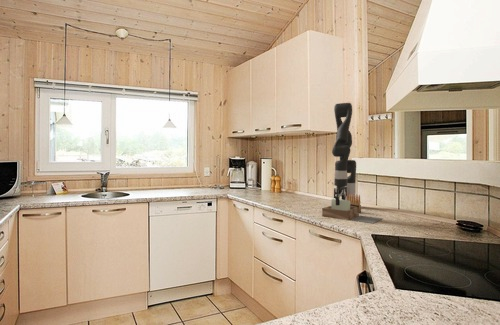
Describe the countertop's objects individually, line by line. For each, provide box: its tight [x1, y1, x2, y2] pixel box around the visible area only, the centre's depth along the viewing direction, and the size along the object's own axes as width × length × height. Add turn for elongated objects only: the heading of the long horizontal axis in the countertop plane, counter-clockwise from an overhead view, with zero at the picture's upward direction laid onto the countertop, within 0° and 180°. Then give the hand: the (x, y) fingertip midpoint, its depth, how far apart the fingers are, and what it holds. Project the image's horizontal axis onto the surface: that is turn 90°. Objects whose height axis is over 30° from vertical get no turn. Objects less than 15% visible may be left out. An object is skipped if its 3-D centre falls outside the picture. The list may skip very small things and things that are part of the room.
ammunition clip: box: [346, 193, 362, 214], centre depth 212 cm, size 11×2×12 cm, turn 37°
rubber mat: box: [350, 215, 383, 225], centre depth 188 cm, size 16×13×1 cm
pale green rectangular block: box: [330, 198, 350, 211], centre depth 199 cm, size 2×11×10 cm, turn 51°
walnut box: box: [321, 205, 360, 221], centre depth 199 cm, size 16×16×5 cm
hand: (340, 204), depth 198 cm, fingers open, 8 cm apart
